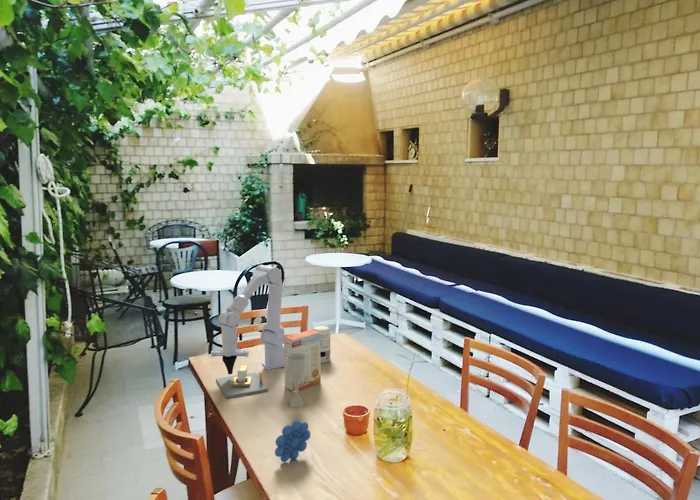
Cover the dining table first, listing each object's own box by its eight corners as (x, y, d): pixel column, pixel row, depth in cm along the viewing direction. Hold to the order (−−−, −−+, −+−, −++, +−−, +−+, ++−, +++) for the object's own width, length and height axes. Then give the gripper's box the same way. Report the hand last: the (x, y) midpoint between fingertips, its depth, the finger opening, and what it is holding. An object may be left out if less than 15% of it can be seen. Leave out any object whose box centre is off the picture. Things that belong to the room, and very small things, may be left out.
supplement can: (309, 362, 239) (309, 329, 236) (315, 356, 246) (315, 324, 244) (326, 364, 236) (326, 331, 234) (332, 358, 244) (332, 326, 242)
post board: (255, 374, 224) (255, 360, 224) (268, 391, 208) (268, 376, 208) (216, 380, 218) (215, 366, 217) (226, 398, 202) (226, 383, 201)
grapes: (303, 447, 167) (302, 410, 166) (314, 457, 162) (314, 419, 160) (268, 458, 161) (268, 420, 159) (279, 469, 155) (278, 430, 154)
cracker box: (311, 378, 221) (311, 328, 218) (321, 382, 217) (321, 332, 214) (283, 387, 212) (283, 335, 209) (292, 392, 208) (292, 339, 204)
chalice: (302, 409, 193) (302, 360, 191) (284, 407, 195) (284, 359, 192) (308, 400, 201) (308, 353, 198) (290, 398, 202) (290, 352, 199)
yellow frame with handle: (250, 386, 210) (249, 377, 209) (231, 386, 209) (231, 377, 208) (252, 373, 222) (252, 365, 221) (235, 374, 221) (234, 365, 221)
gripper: (208, 343, 211) (209, 377, 213) (246, 344, 211) (246, 377, 213) (212, 338, 218) (214, 370, 220) (249, 338, 218) (249, 370, 220)
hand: (230, 373), depth 217 cm, fingers closed
